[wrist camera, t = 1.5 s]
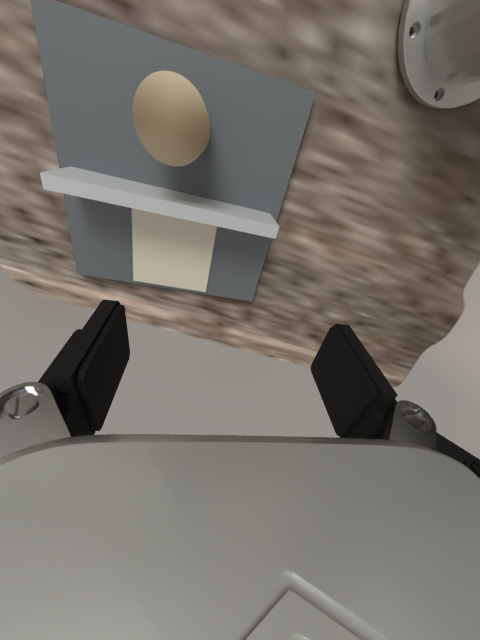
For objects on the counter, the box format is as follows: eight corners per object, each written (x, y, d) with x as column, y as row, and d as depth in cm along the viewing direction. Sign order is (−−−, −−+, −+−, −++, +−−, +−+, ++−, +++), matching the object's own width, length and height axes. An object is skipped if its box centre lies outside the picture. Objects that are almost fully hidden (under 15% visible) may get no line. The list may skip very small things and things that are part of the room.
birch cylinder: (154, 79, 20) (131, 58, 15) (215, 98, 21) (214, 85, 16) (153, 151, 23) (133, 156, 17) (206, 165, 24) (203, 174, 18)
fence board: (37, -3, 18) (-28, -54, 13) (312, 93, 22) (339, 82, 17) (81, 270, 30) (55, 295, 26) (251, 297, 35) (256, 323, 30)
